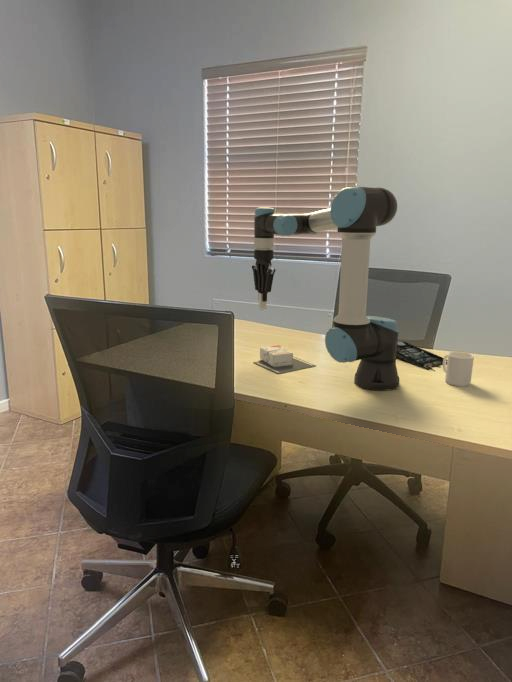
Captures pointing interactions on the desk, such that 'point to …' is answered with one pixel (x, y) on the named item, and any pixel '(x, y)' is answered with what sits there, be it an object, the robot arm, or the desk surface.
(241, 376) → the desk surface
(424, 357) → the building model
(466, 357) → the cup
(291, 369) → the mat
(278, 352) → the ink box
